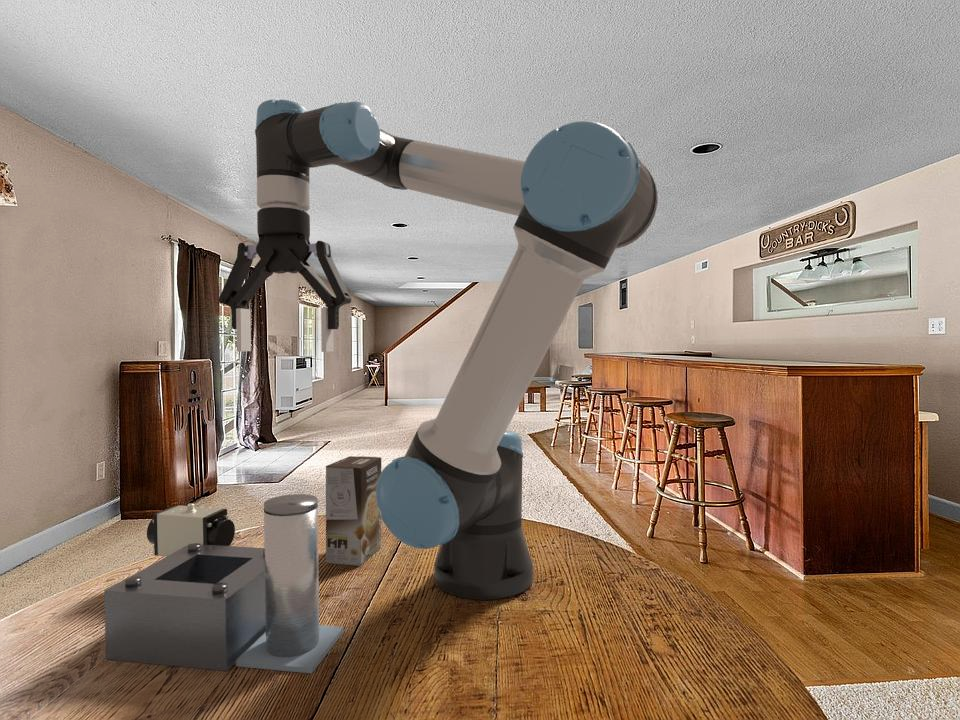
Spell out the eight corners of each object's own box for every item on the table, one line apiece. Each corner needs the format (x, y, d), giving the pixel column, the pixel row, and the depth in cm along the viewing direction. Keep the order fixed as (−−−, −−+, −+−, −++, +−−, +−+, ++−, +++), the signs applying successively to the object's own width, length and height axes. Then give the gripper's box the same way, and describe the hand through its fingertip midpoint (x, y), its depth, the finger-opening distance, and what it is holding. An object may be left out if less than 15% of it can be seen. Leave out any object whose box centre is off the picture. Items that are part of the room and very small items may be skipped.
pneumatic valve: (216, 593, 82) (215, 511, 81) (146, 586, 84) (144, 506, 84) (240, 577, 87) (239, 500, 87) (173, 571, 90) (172, 495, 89)
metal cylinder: (327, 632, 70) (326, 495, 69) (305, 659, 64) (303, 510, 63) (281, 628, 71) (279, 493, 70) (255, 654, 65) (253, 507, 64)
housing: (291, 607, 77) (291, 545, 77) (226, 671, 63) (225, 594, 62) (191, 599, 80) (190, 539, 79) (105, 659, 65) (104, 585, 65)
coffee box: (361, 567, 91) (360, 468, 91) (324, 563, 93) (324, 466, 92) (382, 546, 100) (382, 456, 100) (348, 544, 102) (348, 454, 101)
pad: (343, 631, 71) (343, 627, 71) (311, 673, 62) (311, 668, 62) (276, 626, 72) (276, 621, 72) (235, 666, 64) (235, 661, 64)
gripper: (371, 213, 87) (372, 351, 88) (222, 218, 91) (224, 350, 92) (353, 202, 80) (354, 352, 81) (192, 207, 84) (194, 351, 85)
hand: (285, 351), depth 86 cm, fingers open, 13 cm apart
